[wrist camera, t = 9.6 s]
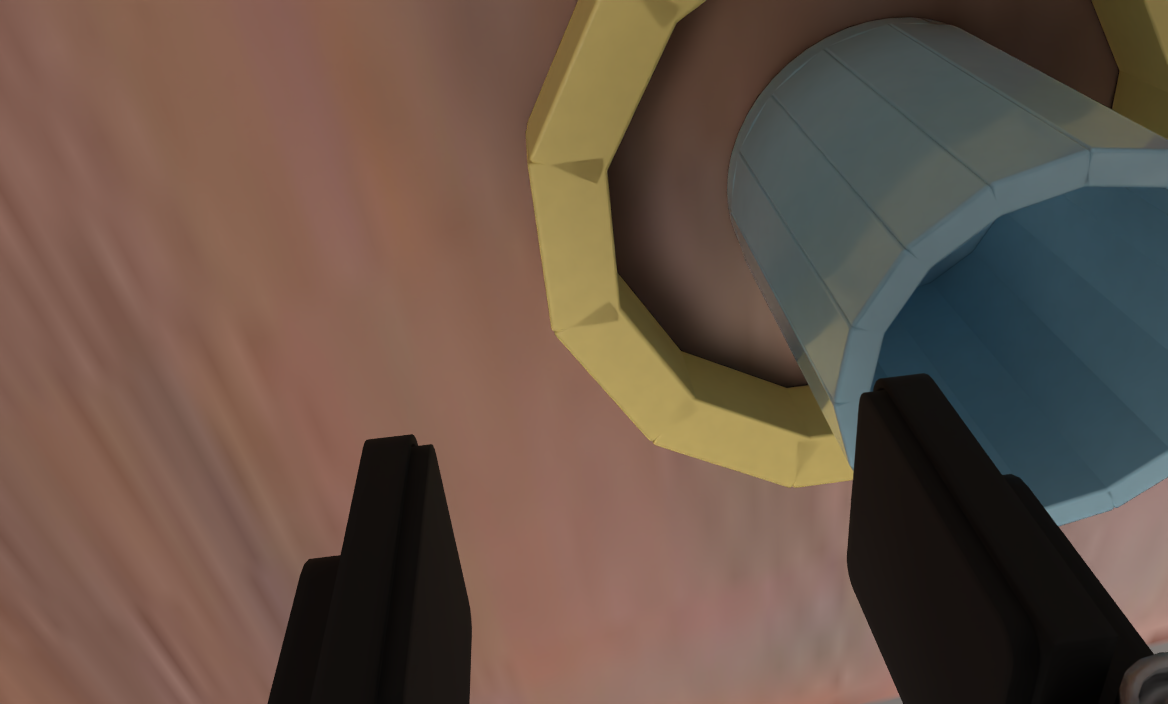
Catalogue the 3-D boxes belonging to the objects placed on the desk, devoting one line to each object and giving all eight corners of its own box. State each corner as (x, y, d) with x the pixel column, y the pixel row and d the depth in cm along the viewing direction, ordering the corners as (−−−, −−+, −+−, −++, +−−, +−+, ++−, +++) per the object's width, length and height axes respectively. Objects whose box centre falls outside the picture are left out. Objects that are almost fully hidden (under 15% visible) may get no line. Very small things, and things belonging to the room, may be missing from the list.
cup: (673, 245, 20) (756, 466, 13) (831, -41, 17) (1030, 66, 11) (909, 341, 21) (1081, 577, 15) (1087, 96, 19) (1391, 259, 12)
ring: (572, 462, 23) (578, 518, 21) (484, -153, 16) (482, -145, 14) (1110, 391, 23) (1159, 440, 21) (1259, -250, 16) (1351, -255, 14)
